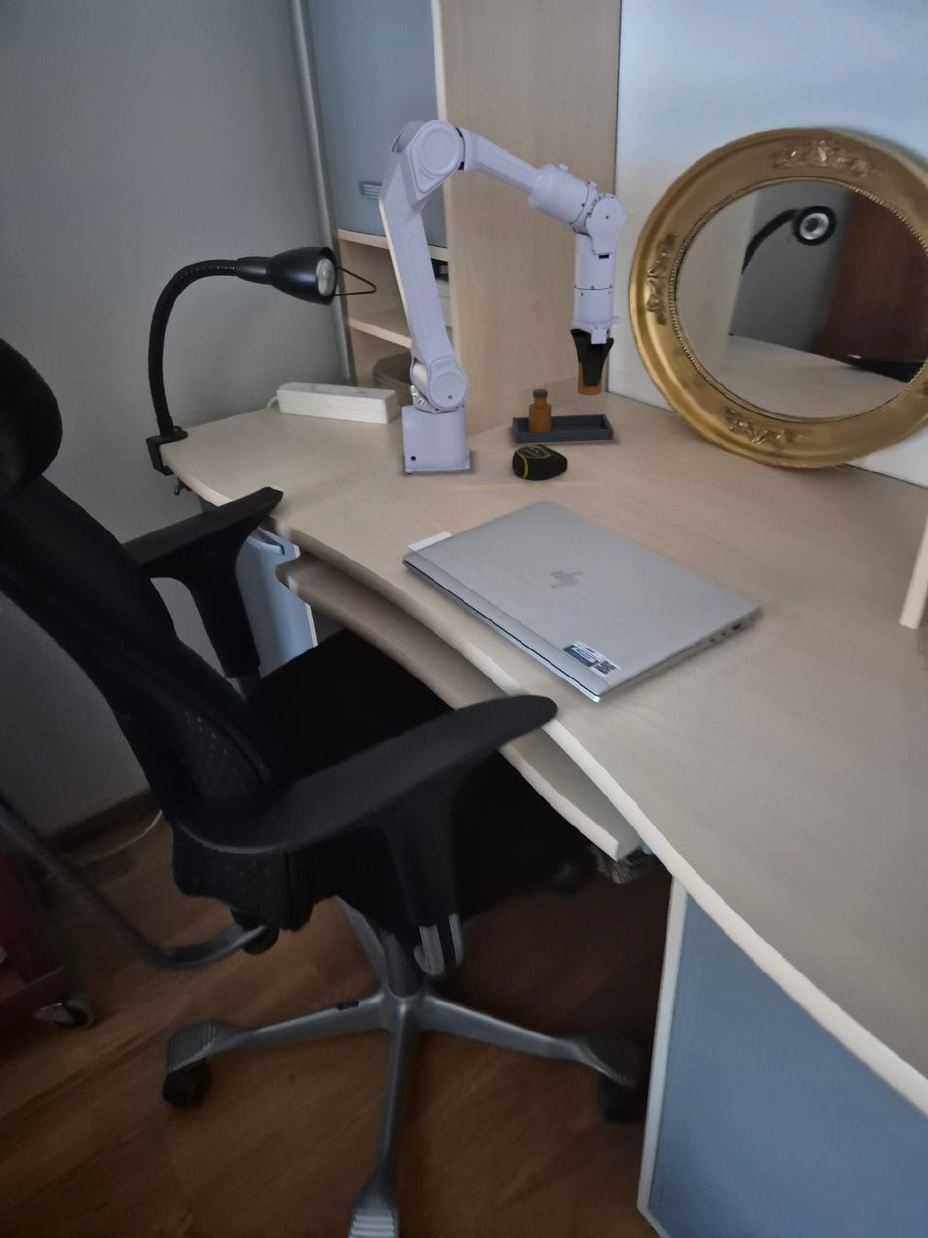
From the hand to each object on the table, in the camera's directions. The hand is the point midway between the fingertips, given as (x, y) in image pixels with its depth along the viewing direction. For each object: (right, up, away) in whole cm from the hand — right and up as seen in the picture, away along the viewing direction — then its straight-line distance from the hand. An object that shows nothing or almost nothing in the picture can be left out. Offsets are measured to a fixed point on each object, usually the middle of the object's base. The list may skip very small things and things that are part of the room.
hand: (589, 381), depth 123 cm
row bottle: (-7, -6, +7) cm, 12 cm away
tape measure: (-8, -15, -6) cm, 18 cm away
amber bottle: (0, -1, +1) cm, 2 cm away
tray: (-3, -7, +8) cm, 11 cm away
